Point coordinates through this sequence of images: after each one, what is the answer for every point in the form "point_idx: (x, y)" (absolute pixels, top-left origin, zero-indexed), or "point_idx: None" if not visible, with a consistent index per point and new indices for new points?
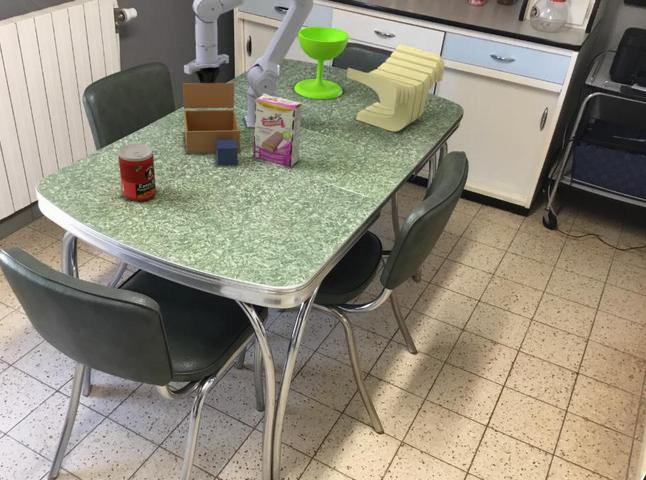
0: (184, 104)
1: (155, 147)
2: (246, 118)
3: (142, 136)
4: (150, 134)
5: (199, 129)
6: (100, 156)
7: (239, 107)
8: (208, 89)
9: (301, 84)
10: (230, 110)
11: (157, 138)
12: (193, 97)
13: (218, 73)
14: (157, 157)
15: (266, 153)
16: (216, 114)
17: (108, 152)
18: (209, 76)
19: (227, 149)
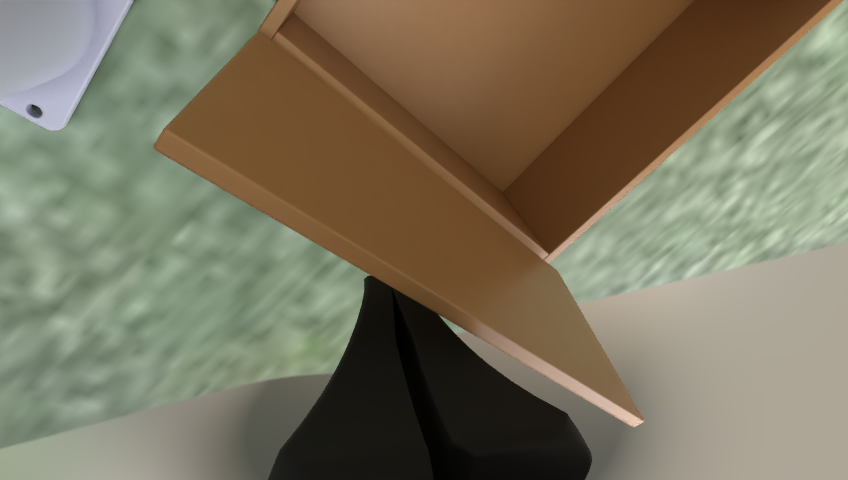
0: (566, 286)
1: (698, 162)
2: (70, 85)
3: (630, 269)
4: (600, 266)
5: (458, 155)
6: (833, 230)
7: (14, 258)
8: (476, 279)
9: None
10: (297, 47)
11: (617, 223)
12: (546, 292)
13: (309, 431)
14: (787, 77)
15: None
16: (395, 120)
17: (796, 238)
18: (498, 405)
19: None
